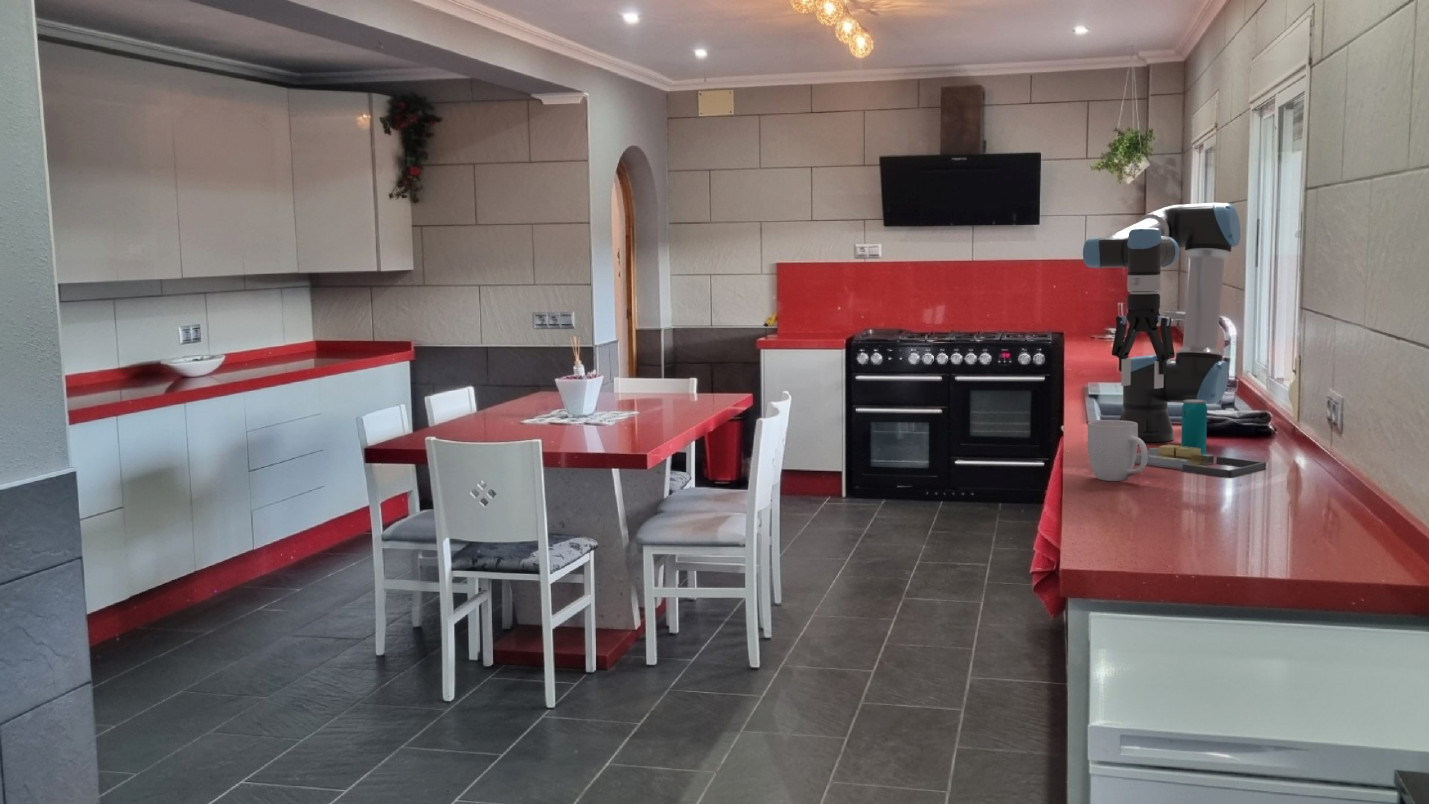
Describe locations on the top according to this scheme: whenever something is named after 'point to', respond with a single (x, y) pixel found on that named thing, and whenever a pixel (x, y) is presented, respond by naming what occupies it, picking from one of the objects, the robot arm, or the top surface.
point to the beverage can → (1194, 424)
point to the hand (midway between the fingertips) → (1142, 386)
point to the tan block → (1168, 450)
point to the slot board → (1171, 460)
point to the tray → (1245, 469)
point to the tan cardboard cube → (1189, 454)
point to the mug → (1114, 449)
